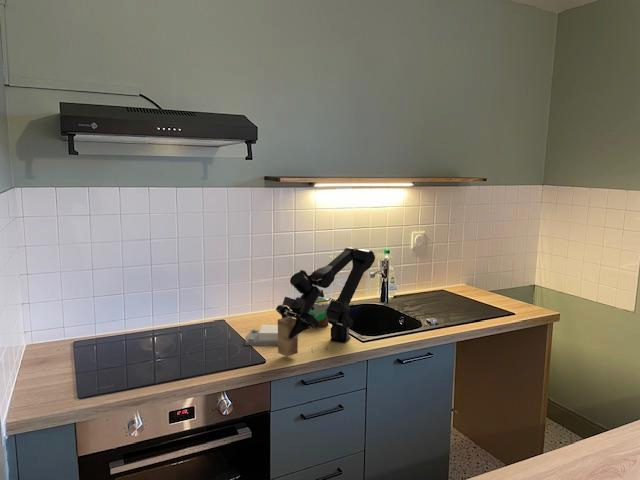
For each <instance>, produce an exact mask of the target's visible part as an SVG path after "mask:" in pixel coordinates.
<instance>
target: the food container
mask: <svg viewBox="0 0 640 480" xmlns="http://www.w3.org/2000/svg"><path fill="white" fill-rule="evenodd" d="M329 304H330V303H327V304H324V303H321V302H315V304H314V305H313V307H314V310H310V312H309V313H308V314H311V315H313V316H314V317H315V318H316V319H317V320H318V321H319V326H318V328H324V327H328V326H329V324H330V323H329V321H328V318H327V315H326V312H327V310H328V309H327V308H328V306H329ZM309 327H311V325H310V326H309Z"/></svg>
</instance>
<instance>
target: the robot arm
mask: <svg viewBox="0 0 640 480" xmlns="http://www.w3.org/2000/svg"><path fill="white" fill-rule="evenodd" d="M375 260H376V255H375V253H374V251H372V250H368V249H362V248H358V249H357V248H356V247H349V246H348V247H345V248H344V249H343V251H342V252H341V253H340V254H338V255H337V256H336V257H335V258H334V259H332V261H330V262H329V263H328V264H326V265H325V266H323V267H319V268H318V269H316V270H314V271H313V272H312V273H311V274H308V273H307V272H306V270H303V269H300V270H299V272H296V273H294V274H293V275H292V276H291V277H290V279H289V283H290V284H291V286H292V287H294V289H295V290H296V291H297V292H298V293H299V294H301V295H300V297H296V298H291V297H288V296H285V297H284V299H283V302H282V304H278V305H277V306H276V308H275V311H276V312H277V313H278V314H279V315H280V316H281V318H285V317H291V318H294V319H296V324H295V326H294V328H293V329H292V331H291V333H290V335H289V338H290V339H291V338H293V337H294V336H296V335H298V334H299V335H300V334H301V333H303V332H305V331H306V330H309V329H315V330H317V329H318V328H319V327H318V326H319V321H318V320H317V319H316V318H315V317H314V316H313V315H311V314H308V313H309V312H310V310H314V307H313V305H314V304H315V303H317V301H318V299H319V298H324V297H325V294H324V290H323V289H327V288H329V287H330V286H331V284H333V282H334V280H335V277H336V275H337V274H338V273H340V271H342V270H343V269H344V268H345V267H347V265H348V264H349V263H350V262H352V268H351V271H350V272H349V275H348V277H347V279H346V281H345V283H344V285H343V287H342V290H341V292H340V294H339V296H338V297H337V299H336V300H333V299H332V300H330V301H329V303H328V304H329V306H328V308H327V309H328V310H327V312H326V315H327V318H328V321H329V323H328V324H331V327H330V339H329V340H330V341H331V342H337V343H344V344H345V343H347V342H348V341H349V340H350V339H351V335H350V328H351V327H352V326H353V323H354V319H353V318H352V317H351V316H350V314H351V313H350V312H351V309H350V308H351V307H350V303H351V301H352V299H353V297H354V295H355V293H356V290H357V288H358V286H359V283H360V282H361V280H362V278H363V276H364V273H365V272H367V271H368V270H370V268H371V267H372V265H373V264H374V262H375ZM320 288H323V289H320ZM310 325H311V326H310Z"/></svg>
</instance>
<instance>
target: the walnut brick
mask: <svg viewBox="0 0 640 480" xmlns="http://www.w3.org/2000/svg"><path fill="white" fill-rule="evenodd" d="M295 324H296V318H293V317H292V318H291V317H285V318H282V317H281V318H278V319H277V325H278V345H277V352H278V354H280V355H282V356H285V357H291V356H293V355H296V354H298V351H299V349H298V348H299V346H298V344H299V343H298V342H299V337H298V335H296V336H294V337H293V338H291V339H290V338H289V335H290V333H291V331H292V329H293V328H294V326H295Z"/></svg>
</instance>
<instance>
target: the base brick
mask: <svg viewBox="0 0 640 480" xmlns="http://www.w3.org/2000/svg"><path fill="white" fill-rule="evenodd" d="M299 336H300V333H299V334H298V338H300V337H299ZM244 344H245V346H278V324H261V326H260V329H256V328H254V329H251V330H250V331H249V333H248V335H247V338H246V340H245V343H244Z"/></svg>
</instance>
